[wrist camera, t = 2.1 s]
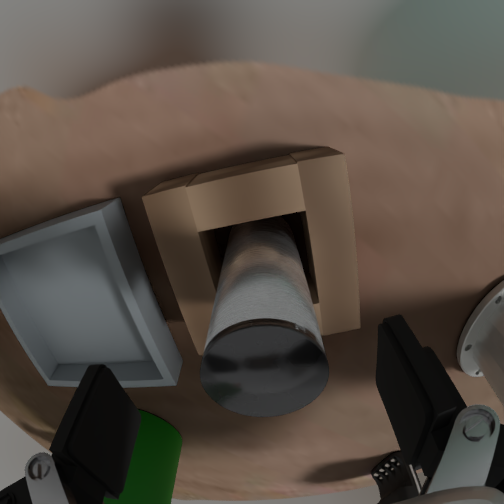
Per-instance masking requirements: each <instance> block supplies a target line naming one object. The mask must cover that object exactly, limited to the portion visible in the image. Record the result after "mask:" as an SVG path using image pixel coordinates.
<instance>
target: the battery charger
mask: <svg viewBox="0 0 504 504" xmlns="http://www.w3.org/2000/svg"><path fill="white" fill-rule="evenodd" d="M371 475H372V477H373V478H374V480H375V481H376V483H377V485H378V487H379V491H380V497H381V500H380V501H379V503H378V504H393V503H396V502H400V501H404V500H407V499H411V498H414V497H417V496H418V495H419V493H420V491H421V489H422V487H421V484H420V481H419V478H418V476H417V473H416V471H413V468H412V465H406V463H405V461H404V458H403V455H402V452H396V453H393V454H391V455H389V456H388V457H387V458H386V459H384V460H383V461H382V462H381V463H380V464H378V465H377V466H376V467H375V468H374V469H373V470H372V471H371Z"/></svg>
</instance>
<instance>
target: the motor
mask: <svg viewBox="0 0 504 504" xmlns="http://www.w3.org/2000/svg"><path fill="white" fill-rule="evenodd" d="M138 411H139V412H140V414H141V424H140V427H139V431H138V435H137V438H136V442H135V446H134V450H133V454H132V458H131V462H130V466H129V470H128V474H127V478H126V482H125V486H124V490H123V492H122V493H120V495H119V500H117V499H110V498H106V497H105V496H104V500H103V501H104V503H105V504H171V499H172V494H173V488H174V483H175V478H176V473H177V467H178V462H179V457H180V452H181V447H182V438H181V435H180V434H179V432H178V431H177V430H176V429H175V428H174V427H173V426H171V425H170V424H169V423H167V422H166V421H164V420H162V419H161V418H159V417H157V416H155V415H152V414H150V413H147V412H144V411H141V410H138Z"/></svg>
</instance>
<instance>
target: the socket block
mask: <svg viewBox="0 0 504 504" xmlns="http://www.w3.org/2000/svg"><path fill="white" fill-rule="evenodd" d="M142 200H143V203H144V206H145V210H146V213H147V216H148V219H149V222H150V225H151V228H152V232H153V235H154V238H155V241H156V244H157V247H158V249H159V252H160V255H161V258H162V261H163V264H164V267H165V270H166V272H167V275H168V278H169V281H170V283H171V286H172V289H173V292H174V294H175V297H176V300H177V302H178V305H179V307H180V310H181V313H182V315H183V318H184V320H185V323H186V325H187V328H188V330H189V333H190V335H191V338H192V340H193V343H194V345H195V347H196V350H197V352H198V355H203V353H204V348H205V344H206V339H207V334H208V329H209V324H210V320H211V315H212V310H213V306H214V301H215V296H216V292H217V287H218V283H219V278H220V274H221V269H222V265H223V262H222V259H221V255H220V251H219V248H218V244H217V241H216V237H215V233H214V230H213V229H215V228H220V227H224V226H229V225H234V224H239V223H244V222H249V221H254V220H259V219H264V218H269V217H274V216H279V215H285V214H290V213H295V212H300V214H301V220H302V226H303V232H304V238H305V245H306V251H307V257H308V264H309V270H310V273H304V274H305V278H306V281H307V285H308V288H309V292H310V296H311V299H312V303H313V307H314V311H315V314H316V318H317V322H318V326H319V330H320V334H321V335H323V336H326V335H331V334H336V333H340V332H345V331H350V330H354V329H358V328H360V301H359V282H358V266H357V253H356V241H355V231H354V221H353V211H352V203H351V195H350V187H349V179H348V172H347V165H346V158H345V154H344V153H342V152H339V151H337V150H335V149H332V148H330V147H323V148H317V149H311V150H305V151H299V152H293V153H289V155H286V156H280V157H275V158H270V159H265V160H260V161H255V162H250V163H245V164H241V165H236V166H232V167H227V168H223V169H218V170H214V171H210V172H206V173H201V174H199V173H195V174H191V175H187V176H183V177H179V178H175V179H171V180H168V181H164V182H161V183H160V184H159V185H157V186H156V187H155V188H153V189H152V190H151V191H149V192H148V193H146V194H145V195H144V196H142Z"/></svg>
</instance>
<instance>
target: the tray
mask: <svg viewBox="0 0 504 504" xmlns="http://www.w3.org/2000/svg"><path fill="white" fill-rule="evenodd" d="M0 308H1V310H2V312H3V314H4V316H5V318H6V320H7V321H8V323H9V325H10V327H11V329H12V330H13V332H14V334H15V335H16V337H17V339H18V340H19V342H20V344H21V345H22V347H23V349H24V350H25V352H26V353H27V355H28V357H29V358H30V360H31V361H32V363H33V364H34V366H35V367H36V369H37V370H38V372H39V373H40V374H41V376H42V377H43V379H44V380H45V382H46V383H47V384H48V386H64V387H78V386H79V383H80V381H81V379H82V377H83V375H84V373H85V371H86V370H87V368H88V366H89V365H95V364H104V365H106V366H107V368H110V369H111V371H112V372H113V374H114V375H115V377H116V378H117V380H118V381H119V383H120V385H121V386H122V388H126V387H158V386H176V385H177V382H178V378H179V374H180V370H181V367H182V363H183V359H182V357H181V355H180V353H179V351H178V349H177V346H176V344H175V342H174V340H173V337H172V335H171V333H170V331H169V328H168V326H167V324H166V321H165V319H164V317H163V314H162V312H161V309H160V307H159V305H158V302H157V300H156V297H155V295H154V292H153V290H152V287H151V285H150V282H149V279H148V277H147V274H146V272H145V269H144V266H143V264H142V261H141V258H140V255H139V253H138V250H137V247H136V244H135V241H134V239H133V236H132V233H131V230H130V227H129V224H128V221H127V218H126V215H125V212H124V209H123V206H122V202H121V199H120V197H119V198H115V199H112V200H109V201H105V202H102V203H99V204H96V205H93V206H90V207H87V208H84V209H81V210H78V211H75V212H72V213H69V214H66V215H63V216H60V217H57V218H54V219H51V220H49V221H46V222H43V223H40V224H38V225H35V226H32V227H30V228H27V229H24V230H22V231H19V232H17V233H14V234H11V235H9V236H6V237H4V238H1V239H0Z"/></svg>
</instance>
